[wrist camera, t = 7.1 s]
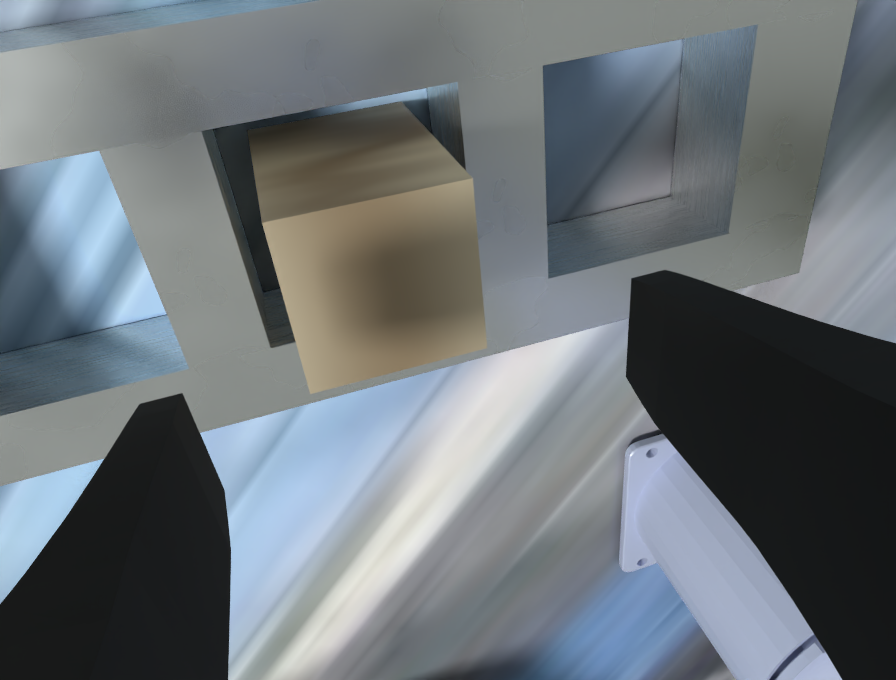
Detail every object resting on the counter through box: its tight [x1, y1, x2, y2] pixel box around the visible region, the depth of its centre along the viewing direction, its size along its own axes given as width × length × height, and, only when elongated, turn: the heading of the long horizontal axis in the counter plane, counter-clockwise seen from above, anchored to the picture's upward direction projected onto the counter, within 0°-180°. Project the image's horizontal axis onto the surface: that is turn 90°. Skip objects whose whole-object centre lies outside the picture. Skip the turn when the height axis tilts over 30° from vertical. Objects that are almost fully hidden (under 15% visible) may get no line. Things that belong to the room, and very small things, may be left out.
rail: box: [0, 0, 858, 486], centre depth 17 cm, size 26×10×3 cm, turn 96°
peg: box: [247, 102, 487, 394], centre depth 16 cm, size 4×4×6 cm
